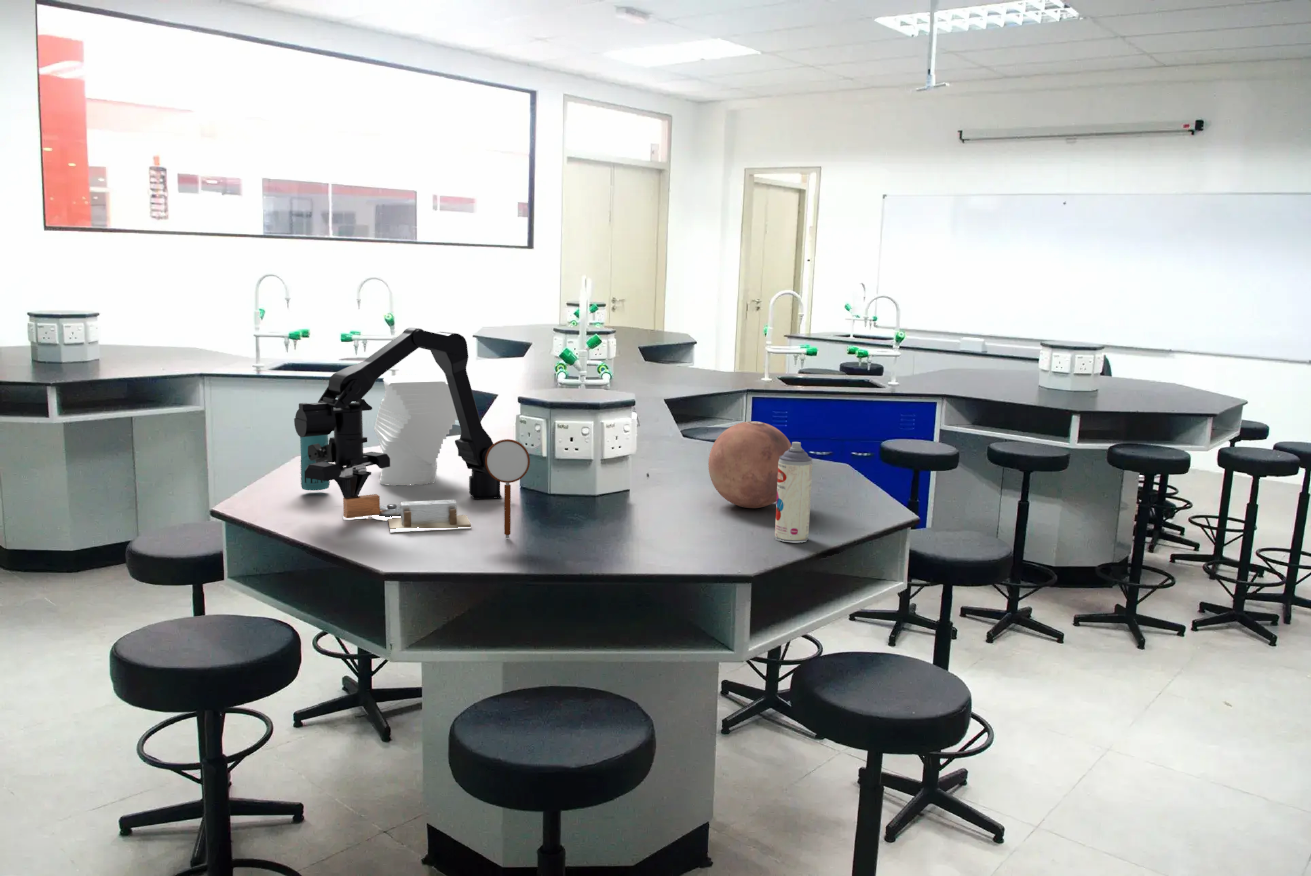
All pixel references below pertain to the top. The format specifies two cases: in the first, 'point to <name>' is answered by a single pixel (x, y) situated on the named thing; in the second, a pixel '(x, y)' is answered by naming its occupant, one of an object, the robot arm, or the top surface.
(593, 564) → the top surface
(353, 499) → the wooden building block
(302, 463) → the beverage bottle
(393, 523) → the rack
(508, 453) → the magnifying glass
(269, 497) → the top surface
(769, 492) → the planet model
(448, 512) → the bar
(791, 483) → the aerosol can
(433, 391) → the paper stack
